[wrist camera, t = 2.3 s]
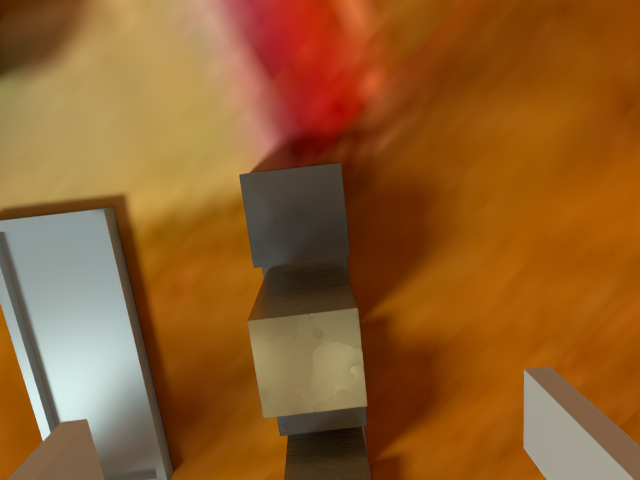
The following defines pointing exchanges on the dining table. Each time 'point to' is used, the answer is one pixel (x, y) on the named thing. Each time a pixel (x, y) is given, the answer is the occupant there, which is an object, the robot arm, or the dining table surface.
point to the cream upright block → (327, 456)
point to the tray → (82, 337)
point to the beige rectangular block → (307, 342)
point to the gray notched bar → (300, 248)
